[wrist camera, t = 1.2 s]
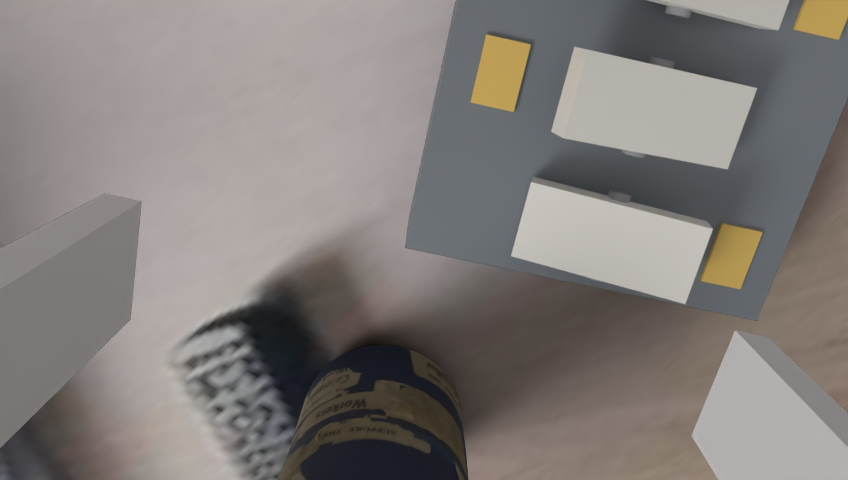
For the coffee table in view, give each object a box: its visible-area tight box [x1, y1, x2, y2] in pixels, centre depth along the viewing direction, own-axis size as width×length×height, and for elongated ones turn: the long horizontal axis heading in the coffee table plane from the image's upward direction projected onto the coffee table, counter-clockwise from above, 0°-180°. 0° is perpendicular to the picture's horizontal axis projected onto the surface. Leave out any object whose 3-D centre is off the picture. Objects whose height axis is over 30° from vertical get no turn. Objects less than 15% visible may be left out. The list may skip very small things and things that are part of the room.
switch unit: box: [405, 0, 848, 321], centre depth 32 cm, size 18×18×5 cm
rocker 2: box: [511, 177, 713, 304], centre depth 31 cm, size 8×4×2 cm, turn 78°
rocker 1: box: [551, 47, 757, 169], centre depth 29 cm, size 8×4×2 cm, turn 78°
